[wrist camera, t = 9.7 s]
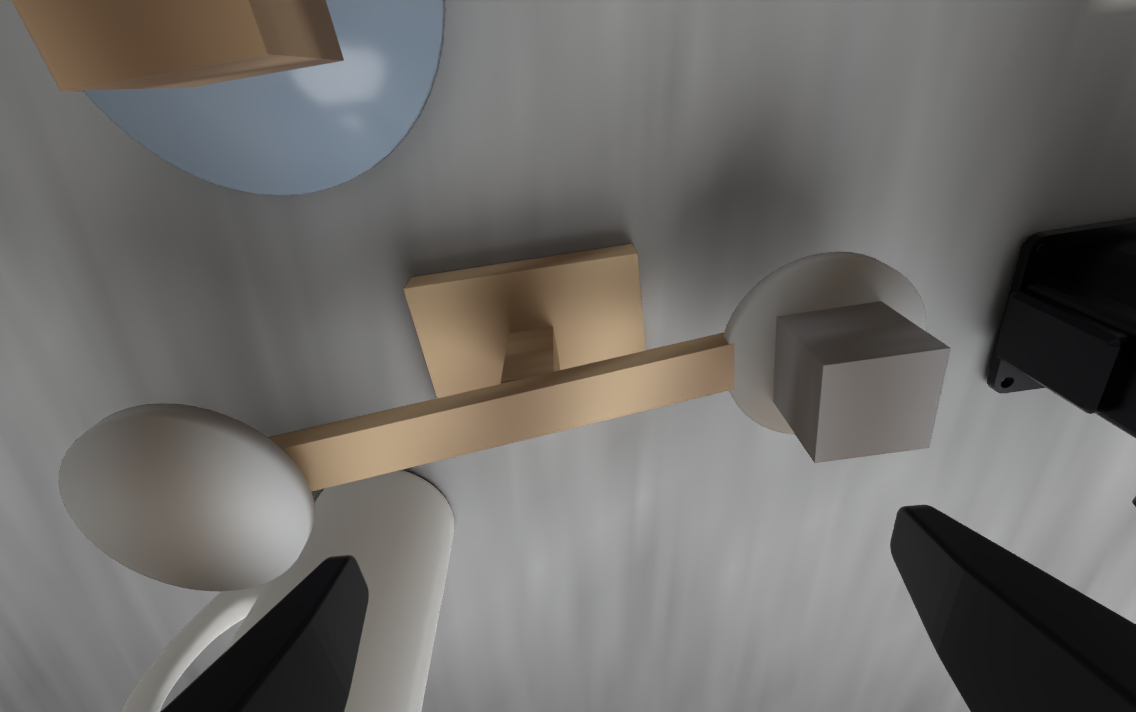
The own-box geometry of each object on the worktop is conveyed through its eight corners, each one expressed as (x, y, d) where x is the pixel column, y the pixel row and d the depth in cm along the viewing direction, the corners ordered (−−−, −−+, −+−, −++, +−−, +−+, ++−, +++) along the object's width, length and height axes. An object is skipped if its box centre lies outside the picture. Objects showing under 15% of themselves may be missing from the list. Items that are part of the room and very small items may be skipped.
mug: (445, 453, 23) (352, 781, 12) (473, 562, 26) (418, 899, 15) (215, 474, 23) (-74, 815, 12) (270, 580, 26) (76, 925, 15)
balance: (862, 208, 18) (1047, 286, 11) (845, 359, 21) (986, 494, 14) (198, 309, 19) (5, 436, 13) (265, 440, 22) (137, 602, 15)
